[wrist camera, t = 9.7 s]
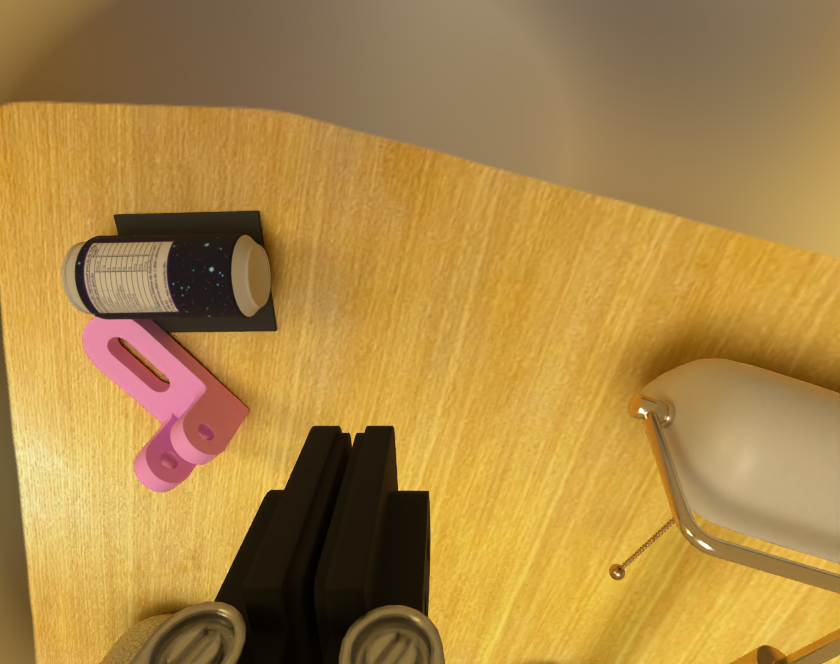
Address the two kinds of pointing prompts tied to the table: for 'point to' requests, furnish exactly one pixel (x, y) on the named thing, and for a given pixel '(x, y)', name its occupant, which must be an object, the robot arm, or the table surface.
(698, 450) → the lamp
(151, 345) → the bracket
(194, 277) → the beverage can
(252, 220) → the rubber mat
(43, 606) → the table surface
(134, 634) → the planter
